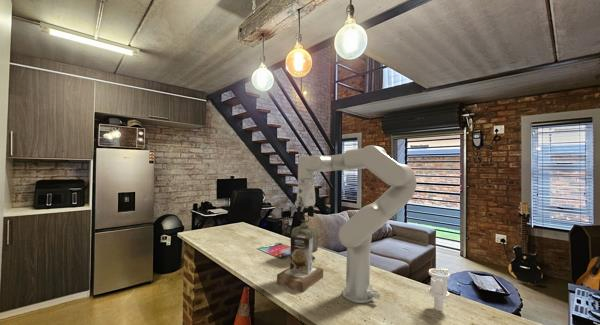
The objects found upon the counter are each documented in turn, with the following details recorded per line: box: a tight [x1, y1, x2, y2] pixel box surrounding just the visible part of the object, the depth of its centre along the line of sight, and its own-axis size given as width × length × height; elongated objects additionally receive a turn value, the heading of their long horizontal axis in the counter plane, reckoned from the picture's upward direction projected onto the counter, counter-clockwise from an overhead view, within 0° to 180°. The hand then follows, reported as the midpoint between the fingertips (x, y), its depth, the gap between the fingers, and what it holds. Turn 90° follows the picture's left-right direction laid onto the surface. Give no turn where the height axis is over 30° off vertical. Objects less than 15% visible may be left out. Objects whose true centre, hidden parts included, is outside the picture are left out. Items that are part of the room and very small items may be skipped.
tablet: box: [256, 242, 291, 260], centre depth 161 cm, size 19×25×1 cm
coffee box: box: [289, 234, 313, 274], centre depth 120 cm, size 9×6×16 cm
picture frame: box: [276, 265, 324, 293], centre depth 120 cm, size 14×18×5 cm
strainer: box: [428, 268, 451, 312], centre depth 98 cm, size 7×7×15 cm
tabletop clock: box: [289, 214, 319, 260], centre depth 148 cm, size 14×9×25 cm, turn 50°
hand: (305, 218), depth 121 cm, fingers open, 9 cm apart
